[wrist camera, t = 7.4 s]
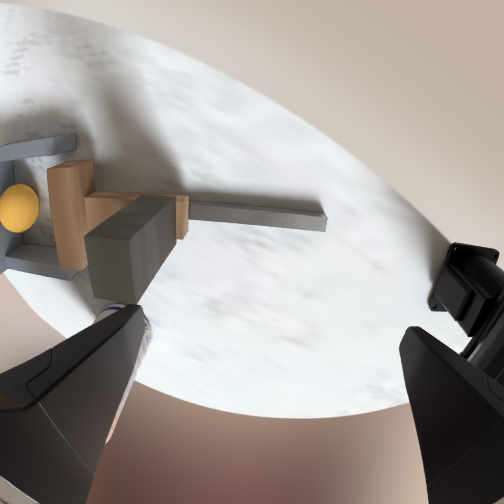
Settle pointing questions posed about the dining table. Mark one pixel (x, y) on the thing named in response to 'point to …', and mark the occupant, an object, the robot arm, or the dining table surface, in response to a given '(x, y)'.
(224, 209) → the rail
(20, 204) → the ball
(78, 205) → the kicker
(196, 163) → the dining table surface
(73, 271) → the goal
